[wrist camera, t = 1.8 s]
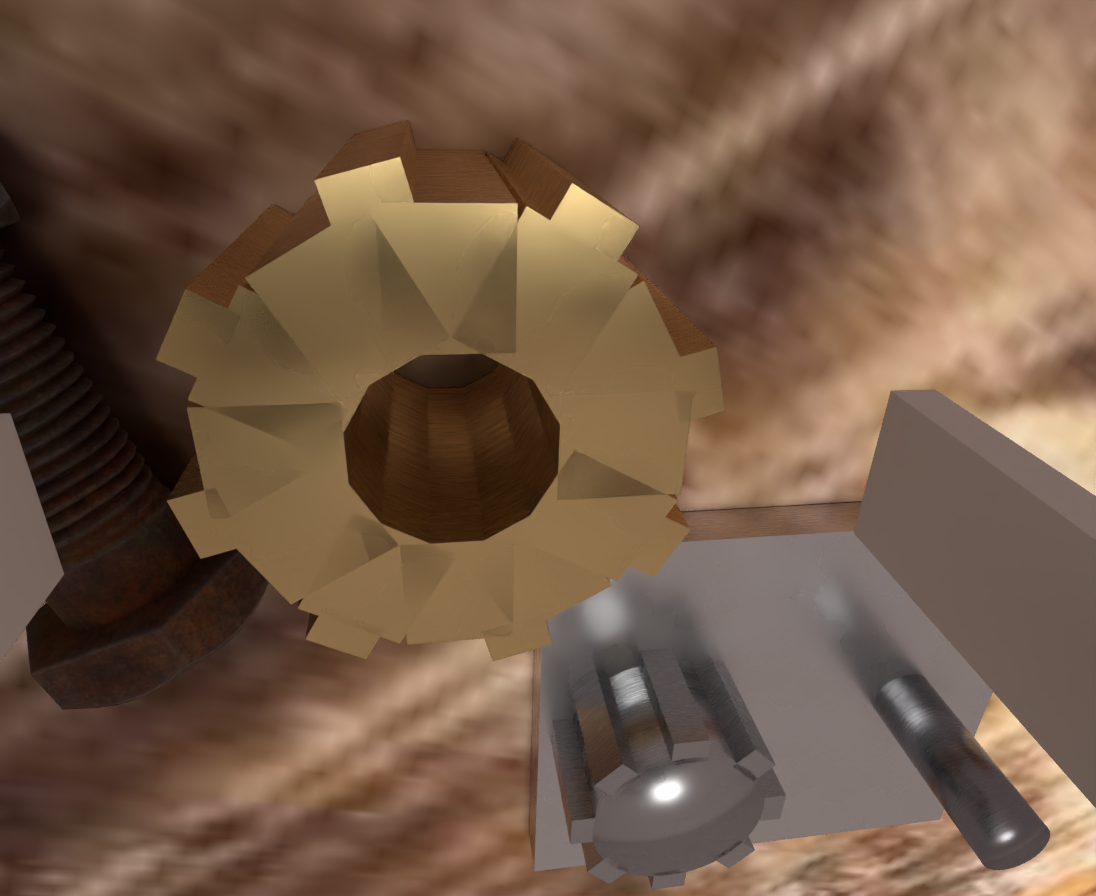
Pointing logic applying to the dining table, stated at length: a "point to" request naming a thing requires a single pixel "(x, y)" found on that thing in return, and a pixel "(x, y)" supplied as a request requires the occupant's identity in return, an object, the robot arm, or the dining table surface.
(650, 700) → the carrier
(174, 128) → the dining table surface
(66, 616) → the bolt
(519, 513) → the gear
